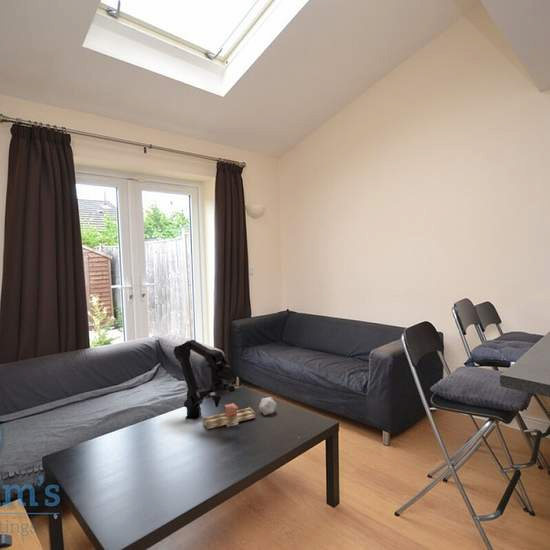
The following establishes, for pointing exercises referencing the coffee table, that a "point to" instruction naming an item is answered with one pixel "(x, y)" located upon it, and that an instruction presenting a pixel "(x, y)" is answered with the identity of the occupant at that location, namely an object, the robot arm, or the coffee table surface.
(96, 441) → the coffee table surface
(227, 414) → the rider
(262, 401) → the die
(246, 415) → the beam
